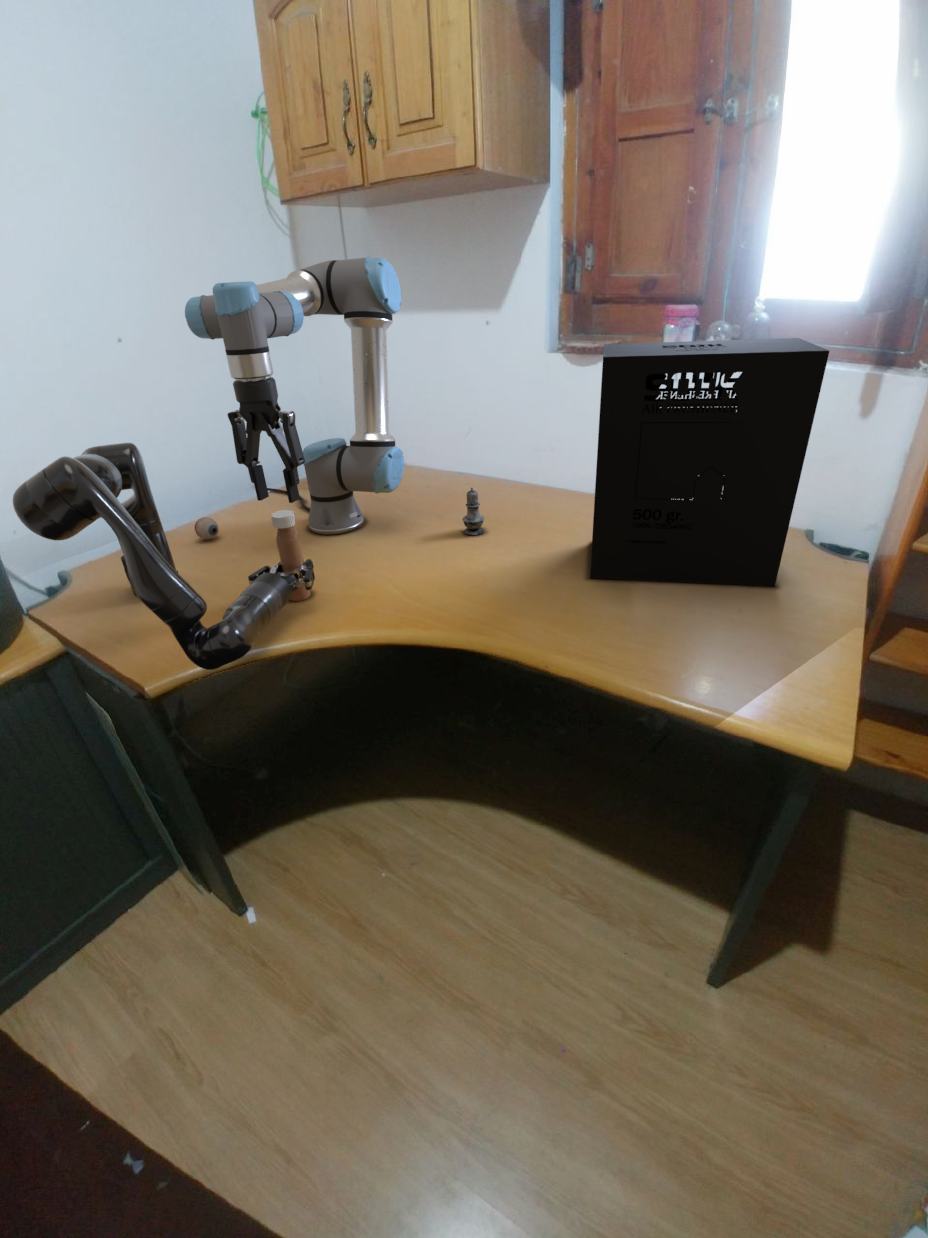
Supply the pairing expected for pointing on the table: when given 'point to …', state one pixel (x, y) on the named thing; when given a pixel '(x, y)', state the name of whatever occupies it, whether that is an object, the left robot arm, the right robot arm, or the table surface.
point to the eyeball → (206, 528)
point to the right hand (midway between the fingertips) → (278, 499)
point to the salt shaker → (473, 515)
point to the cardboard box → (701, 458)
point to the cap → (283, 519)
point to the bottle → (291, 557)
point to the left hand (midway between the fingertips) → (298, 562)
